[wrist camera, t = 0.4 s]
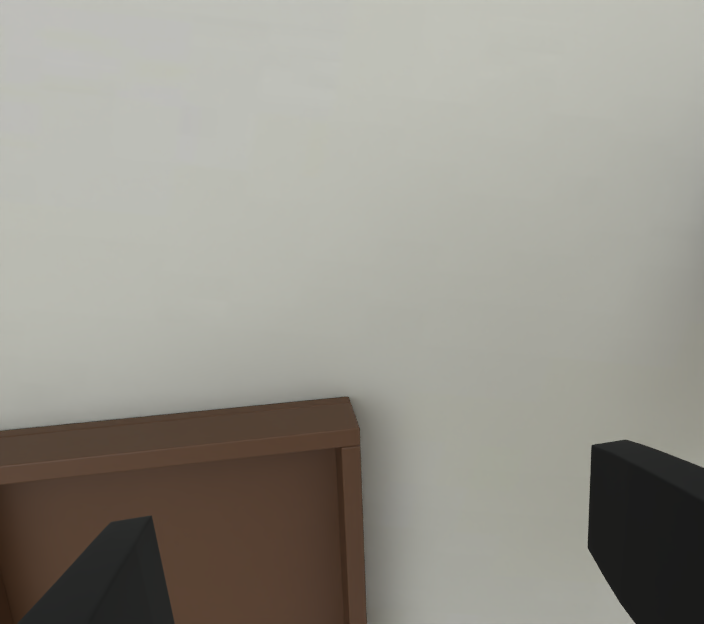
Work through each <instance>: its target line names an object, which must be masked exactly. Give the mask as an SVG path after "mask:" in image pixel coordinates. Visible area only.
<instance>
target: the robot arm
mask: <svg viewBox="0 0 704 624" xmlns="http://www.w3.org/2000/svg"><path fill="white" fill-rule="evenodd" d="M588 549H589V551H590V553H591V554H592V556H593V558H594V560H595V561H596V563H597V565H598V567H599V569H600V570H601V572H602V574H603V576H604V577H605V579H606V581H607V582H608V584H609V586H610V587H611V589H612V590H613V592H614V594H615V595H616V597H617V599H618V600H619V602H620V603H621V605H622V606H623V607H624V609H625V610H626V612H627V613H628V614H629V616H630V617H631V618H632V620H633V621H634V622H635V623H636V624H704V468H702V467H700V466H697V465H695V464H692V463H690V462H687V461H685V460H682V459H680V458H677V457H675V456H672V455H669V454H667V453H664V452H661V451H659V450H656V449H653V448H650V447H648V446H645V445H642V444H639V443H635V442H632V441H629V440H620V441H614V442H608V443H602V444H595V445H592V449H591V475H590V501H589V526H588ZM17 624H175V622H174V618H173V613H172V608H171V604H170V599H169V594H168V589H167V585H166V580H165V575H164V571H163V566H162V561H161V556H160V552H159V547H158V542H157V538H156V533H155V528H154V523H153V519H152V515H151V516H144V517H138V518H132V519H126V520H119V521H113V522H110V523H109V524H108V525H107V526H106V527H105V528H104V529H103V531H102V532H101V533H100V534H99V535H98V536H97V537H96V538H95V539H94V540H93V541H92V542H91V544H90V545H89V546H88V547H87V548H86V549H85V550H84V551H83V552H82V554H81V555H80V556H79V557H78V558H77V559H76V560H75V561H74V562H73V564H72V565H71V566H70V567H69V568H68V569H67V570H66V571H65V572H64V574H63V575H62V576H61V577H60V578H59V579H58V580H57V581H56V582H55V583H54V584H53V586H52V587H51V588H50V589H49V590H48V591H47V592H46V593H45V594H44V595H43V596H42V597H41V598H40V600H39V601H38V602H37V603H36V604H35V605H34V606H33V607H32V608H31V609H30V610H29V611H28V612H27V614H26V615H25V616H24V617H23V618H22V619H21V620H20V621H19V622H18V623H17Z"/></svg>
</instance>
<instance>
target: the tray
mask: <svg viewBox="0 0 704 624" xmlns="http://www.w3.org/2000/svg"><path fill="white" fill-rule="evenodd" d="M151 515H152V519H153V523H154V528H155V533H156V538H157V542H158V547H159V552H160V556H161V561H162V566H163V571H164V575H165V580H166V585H167V589H168V594H169V599H170V604H171V608H172V613H173V618H174V622H175V624H367V613H366V586H365V559H364V532H363V505H362V478H361V450H360V428H359V425H358V422H357V419H356V416H355V413H354V411H353V408H352V405H351V402H350V400H349V397H339V398H329V399H319V400H309V401H299V402H289V403H279V404H269V405H259V406H248V407H238V408H228V409H218V410H208V411H198V412H188V413H178V414H168V415H157V416H147V417H137V418H127V419H117V420H107V421H97V422H87V423H77V424H66V425H56V426H46V427H36V428H26V429H16V430H6V431H0V624H17V623H18V622H19V621H20V620H21V619H22V618H23V617H24V616H25V615H26V614H27V612H28V611H29V610H30V609H31V608H32V607H33V606H34V605H35V604H36V603H37V602H38V601H39V600H40V598H41V597H42V596H43V595H44V594H45V593H46V592H47V591H48V590H49V589H50V588H51V587H52V586H53V584H54V583H55V582H56V581H57V580H58V579H59V578H60V577H61V576H62V575H63V574H64V572H65V571H66V570H67V569H68V568H69V567H70V566H71V565H72V564H73V562H74V561H75V560H76V559H77V558H78V557H79V556H80V555H81V554H82V552H83V551H84V550H85V549H86V548H87V547H88V546H89V545H90V544H91V542H92V541H93V540H94V539H95V538H96V537H97V536H98V535H99V534H100V533H101V532H102V531H103V529H104V528H105V527H106V526H107V525H108V524H109V523H110V522H113V521H119V520H126V519H132V518H138V517H144V516H151Z"/></svg>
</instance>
